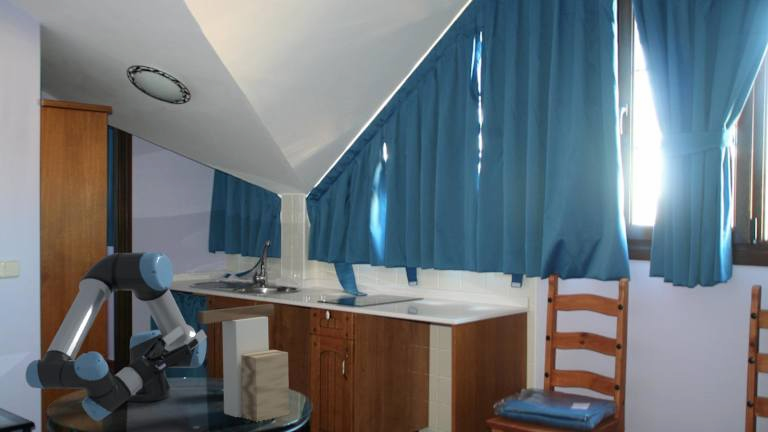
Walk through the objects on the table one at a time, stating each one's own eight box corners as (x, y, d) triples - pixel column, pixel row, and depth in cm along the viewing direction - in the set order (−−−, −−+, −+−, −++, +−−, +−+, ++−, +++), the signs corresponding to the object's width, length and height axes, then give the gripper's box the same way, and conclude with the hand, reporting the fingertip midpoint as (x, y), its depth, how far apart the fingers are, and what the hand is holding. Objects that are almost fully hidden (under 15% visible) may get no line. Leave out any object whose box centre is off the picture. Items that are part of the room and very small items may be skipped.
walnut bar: (197, 323, 224) (197, 311, 224) (268, 314, 242) (267, 304, 242) (203, 324, 222) (203, 312, 222) (274, 315, 240) (273, 304, 240)
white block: (224, 413, 232) (222, 319, 233) (255, 406, 241) (254, 315, 241) (237, 417, 226) (236, 321, 227) (269, 410, 235) (268, 317, 235)
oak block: (242, 417, 226) (241, 354, 227) (274, 410, 235) (273, 349, 235) (257, 422, 221) (255, 357, 221) (289, 414, 229) (287, 352, 229)
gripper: (122, 380, 218) (178, 337, 231) (162, 393, 200) (220, 345, 213) (110, 360, 215) (167, 317, 228) (148, 371, 197) (208, 324, 210)
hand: (192, 331), depth 220 cm, fingers open, 13 cm apart
